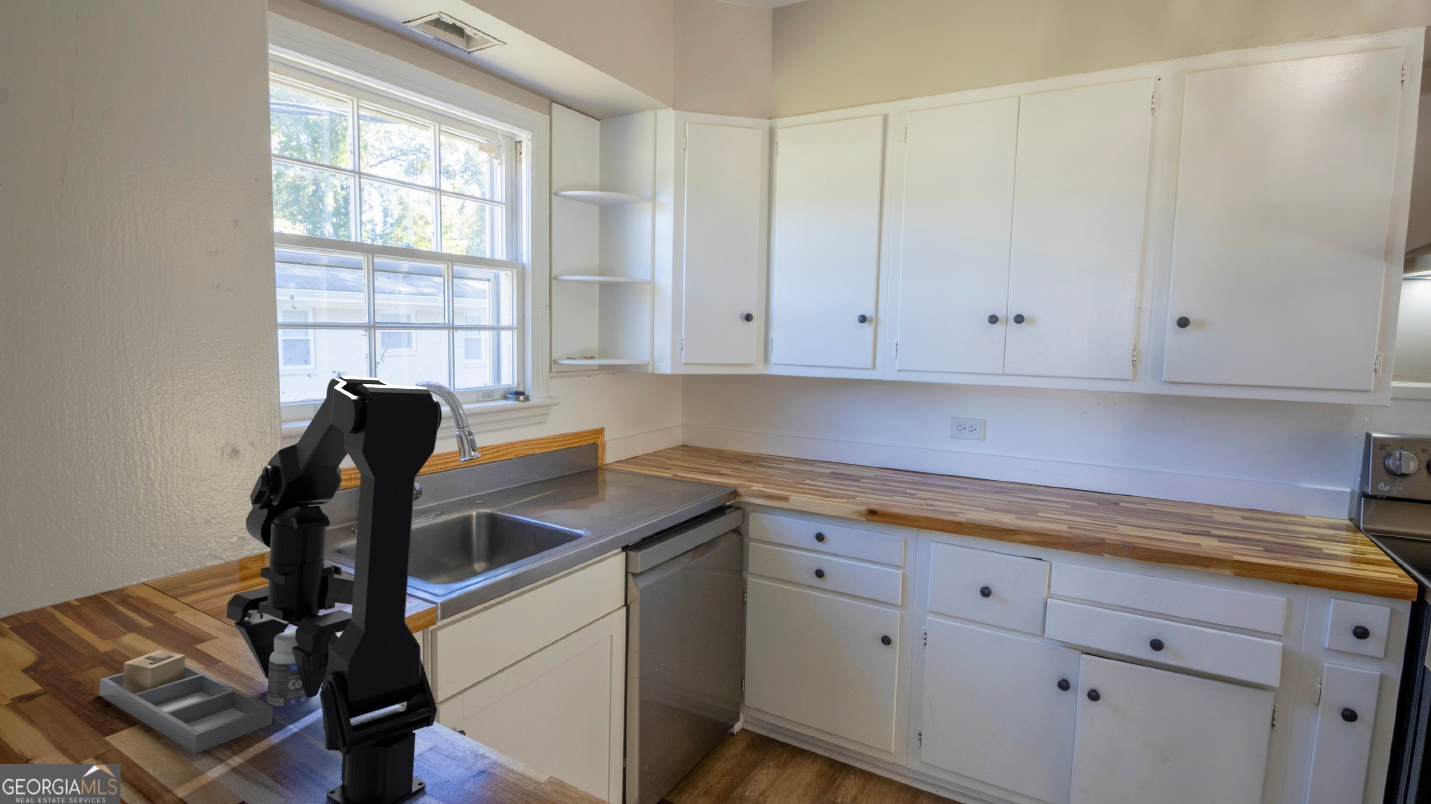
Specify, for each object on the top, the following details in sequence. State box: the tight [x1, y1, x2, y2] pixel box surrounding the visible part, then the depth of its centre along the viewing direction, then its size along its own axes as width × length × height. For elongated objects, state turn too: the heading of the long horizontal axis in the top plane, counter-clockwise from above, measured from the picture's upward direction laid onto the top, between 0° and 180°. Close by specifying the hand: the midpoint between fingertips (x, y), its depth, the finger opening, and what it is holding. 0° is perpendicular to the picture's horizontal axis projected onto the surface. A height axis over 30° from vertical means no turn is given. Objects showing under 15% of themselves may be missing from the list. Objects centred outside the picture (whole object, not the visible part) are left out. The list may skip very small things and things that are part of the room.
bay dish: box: [99, 662, 274, 755], centre depth 78 cm, size 22×8×3 cm, turn 62°
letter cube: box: [123, 649, 186, 694], centre depth 82 cm, size 4×4×4 cm
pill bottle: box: [266, 629, 310, 707], centre depth 83 cm, size 5×5×8 cm
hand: (290, 687), depth 83 cm, fingers open, 8 cm apart
